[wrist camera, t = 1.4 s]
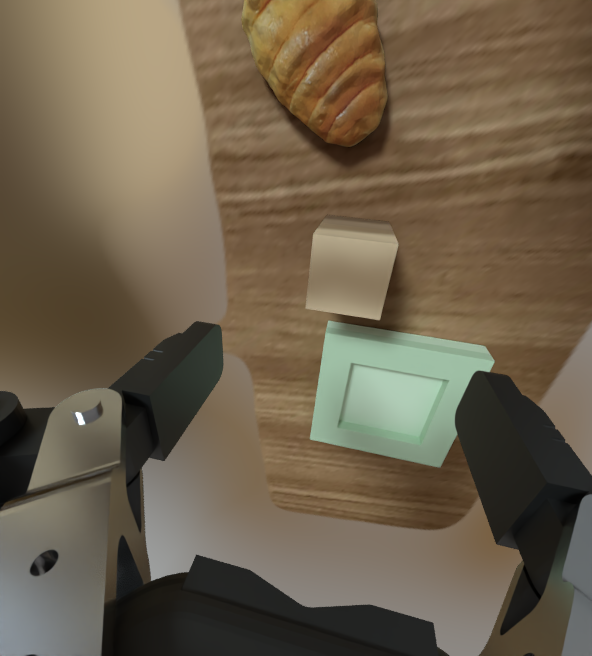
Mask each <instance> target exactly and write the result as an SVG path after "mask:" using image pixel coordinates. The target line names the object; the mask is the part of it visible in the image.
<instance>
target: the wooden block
mask: <svg viewBox="0 0 592 656" xmlns="http://www.w3.org/2000/svg"><path fill="white" fill-rule="evenodd" d="M398 245H399V244H398V242H397V239H396V237H395V235H394V232H393V230H392V228H391V225H390V223H389V222H388V221H379V220H370V219H361V218H353V217H344V216H335V215H327V216H326V217H325V219H324V220H323V221H322V223H321V224H320V225H319V227H318V228H317V230H316V231H315V232H314V234H313V242H312V251H311V261H310V271H309V281H308V290H307V300H306V309H312V310H318V311H325V312H331V313H337V314H343V315H350V316H356V317H362V318H369V319H375V320H380V317H381V313H382V309H383V305H384V301H385V297H386V293H387V289H388V285H389V281H390V277H391V273H392V269H393V265H394V261H395V257H396V253H397V249H398Z"/></svg>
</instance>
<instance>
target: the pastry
mask: <svg viewBox="0 0 592 656" xmlns="http://www.w3.org/2000/svg"><path fill="white" fill-rule="evenodd" d="M377 18H378V10H377V3H376V2H375V0H244V8H243V13H242V19H241V20H242V26H243V30H244V32H245V34H246V35H247V37H248V40H249V43H250V45H251V52H252V56H253V58H254V61H255V64H256V67H257V69H258V70H259V72H260V74H261V75H262V76H263V77H264V78H265V79H266V81H267V82H268V83H269V86H270V87H271V88H272V90H273V91H274V93H275V95H276V97H277V99H278V100H279V102H280V103H281V104H283V105H284V106H286V108H287V109H288V110H289V111H290V112H291V113H292V114H293V115H295V116H296V117H297V118H299V119H300V120H301V121H302V122H303V123H304V124H305V125H306V126H308V127H309V128H310V129H311V130H312V131H313V132H314V133H316V134H317V135H318V136H319V137H321V138H322V139H323V140H324V141H325V142H326V143H333V144H338V145H341V146H345V147H351V146H354V145H356V144H357V143H359V142H361V141H362V140H363V139H364V138H365V137H366V136H368V135H369V134H370V133H372V132H373V131H374V130H375V129H376V128H377V127H378V125H379V123H380V121H381V118H382V114H383V111H384V108H385V105H386V102H387V99H388V95H387V89H386V81H385V75H384V74H385V55H384V50H383V47H382V43H381V40H380V35H379V32H378V28H377Z"/></svg>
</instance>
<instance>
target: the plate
mask: <svg viewBox="0 0 592 656" xmlns="http://www.w3.org/2000/svg"><path fill="white" fill-rule="evenodd" d="M494 362H495V361H494V359H493V358H492V356H491V355H490V353H489V352H488V350H487V349H486V347H485V346H482V345H476V344H470V343H463V342H457V341H451V340H445V339H439V338H433V337H426V336H420V335H414V334H408V333H402V332H396V331H390V330H383V329H377V328H371V327H365V326H359V325H353V324H346V323H340V322H334V321H328V325H327V329H326V334H325V341H324V348H323V354H322V361H321V368H320V375H319V381H318V388H317V395H316V402H315V409H314V415H313V422H312V429H311V436H310V439H311V440H316V441H320V442H325V443H329V444H334V445H339V446H343V447H348V448H352V449H357V450H361V451H366V452H370V453H375V454H380V455H384V456H389V457H393V458H398V459H402V460H407V461H411V462H416V463H421V464H425V465H430V466H434V467H439V468H440V467H441V465H442V463H443V461H444V459H445V457H446V455H447V453H448V451H449V449H450V447H451V445H452V443H453V441H454V440H455V438H456V436H457V431H456V428H455V413H456V409H457V407H458V405H459V402H460V400H461V398H462V396H463V394H464V392H465V390H466V388H467V386H468V383H469V381H470V379H471V377H472V375H473V374H474V373H475V372H476V371H478V370H479V371H486V372H490V370H491V368H492V366H493V364H494Z"/></svg>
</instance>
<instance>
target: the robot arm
mask: <svg viewBox="0 0 592 656" xmlns="http://www.w3.org/2000/svg"><path fill="white" fill-rule="evenodd" d="M222 370H223V347H222V331H221V327H220V326H219V325H217V324H211V323H205V322H199V321H196V322H194V323H193V324H192V325H191V326H190V327H189V328H188V329H187V330H186V331H185V332H183V333H178V334H176V335H173V336H171V337H169V338H167V339H165V340H163V341H162V342H161V343H160V344H158V345H157V346H156V347H155V348H154V349H153V351H150V352H149V353H148V354H147V355H146V356H145V357H144V359H141V360H140V361H139V362H138V363H137V364H135V365H134V366H133V367H132V368H131V369H130V370H129V371H127V372H126V373H125V374H124V375H123V376H122V377H120V378H119V379H118V380H117V381H116V382H115V383H114V384H112V385H111V386H110V387H109V388H108V389H105V388H104V389H103V388H98V389H91V390H86V391H83V392H80V393H77V394H75V395H73V396H71V397H69V398H67V399H65V400H64V401H62V402H61V403H60V404H59V405H57V407H52V408H32V409H31V408H30V409H23V407H22V405H21V403H20V401H19V399H18V397H17V396H16V395H15V394H13V393H11V392H6V391H0V656H449V655H448V654H447V653H445V652H444V651H443V650H441V649H440V648H438V647H437V644H436V637H435V631H434V625H433V623H432V622H429V621H425V620H422V619H419V618H415V617H412V616H408V615H404V614H401V613H398V612H394V611H391V610H387V609H384V608H380V607H377V606H373V605H353V606H334V607H316V608H310V607H305V606H302V605H301V604H299V603H297V602H296V601H295V600H293V599H292V598H290V597H289V596H287V595H286V594H284V593H283V592H281V591H280V590H278V589H277V588H275V587H274V586H273V585H271V584H270V583H268V582H267V581H265V580H263V579H262V578H261V577H259V576H258V575H256V574H255V573H253V572H252V571H250V570H248V569H244V568H241V567H238V566H234V565H231V564H227V563H224V562H220V561H217V560H213V559H210V558H206V557H203V556H199V555H196V557H195V559H194V561H193V564H192V566H191V568H190V571H189V572H184V573H178V574H173V575H168V576H165V577H162V578H159V579H156V580H153V581H151V573H150V565H149V558H148V554H147V547H146V537H145V515H144V513H145V512H144V488H143V471H142V466H143V465H144V464H145V462H146V461H147V460H148V458H153V459H157V460H162V461H165V459H166V458H167V456H168V455H169V453H170V452H171V450H172V449H173V447H174V446H175V445H176V443H177V442H178V440H179V439H180V437H181V436H182V434H183V433H184V431H185V430H186V428H187V427H188V425H189V424H190V422H191V421H192V419H193V418H194V416H195V415H196V414H197V412H198V411H199V409H200V408H201V406H202V404H203V403H204V402H205V400H206V399H207V397H208V396H209V394H210V393H211V391H212V390H213V388H214V387H215V385H216V384H217V382H218V381H219V379H220V377H221V374H222ZM455 428H456V431H457V434H458V437H459V440H460V442H461V445H462V448H463V451H464V454H465V457H466V459H467V462H468V465H469V468H470V471H471V474H472V477H473V479H474V482H475V485H476V488H477V491H478V494H479V496H480V499H481V502H482V505H483V508H484V511H485V514H486V516H487V519H488V522H489V525H490V527H491V531H492V533H493V536H494V539H495V542H496V544H497V545H502V546H506V547H510V548H514V549H518V550H519V551H520V554H521V556H522V559H523V561H522V562H521V563H520V564H519V565H518V566H517V568H516V571H515V573H514V576H513V578H512V581H511V584H510V586H509V589H508V591H507V594H506V597H505V599H504V602H503V605H502V607H501V609H500V612H499V615H498V617H497V620H496V623H495V625H494V628H493V630H492V633H491V636H490V638H489V640H488V642H487V644H486V646H485V647H484V649H483V650H482V652H481V653H480V654H479V656H592V475H591V474H590V473H589V471H588V470H587V469H586V467H585V466H584V465H583V464H582V462H581V461H580V459H579V458H578V456H577V455H576V454H575V452H574V451H573V450H572V448H571V447H570V446H569V445H568V444H567V443H565V439H564V438H563V436H562V435H561V434H560V432H559V431H558V430H556V429H555V425H554V424H553V423H552V421H551V420H550V419H549V417H548V416H547V414H546V413H545V412H544V411H543V410H542V409H541V408H540V407H539V406H537V405H536V404H535V403H534V402H533V401H531V400H530V399H529V398H528V397H527V396H523V395H522V394H521V392H520V391H519V390H518V388H517V387H516V385H515V384H514V382H513V381H512V380H511V378H510V377H509V376H507V375H503V374H497V373H491V372H486V371H479V370H478V371H476V372H475V373H474V374H473V375H472V377H471V379H470V381H469V383H468V386H467V388H466V390H465V392H464V394H463V396H462V398H461V400H460V402H459V405H458V407H457V409H456V413H455Z"/></svg>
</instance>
